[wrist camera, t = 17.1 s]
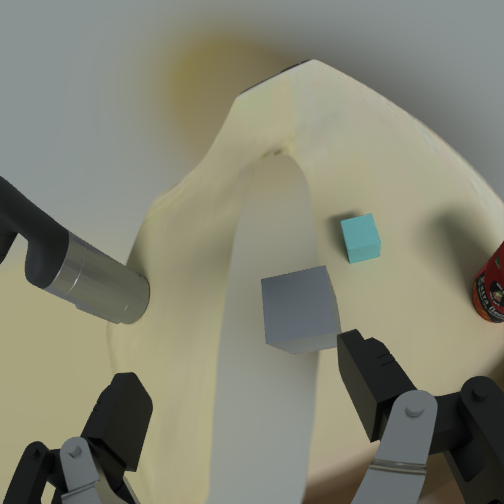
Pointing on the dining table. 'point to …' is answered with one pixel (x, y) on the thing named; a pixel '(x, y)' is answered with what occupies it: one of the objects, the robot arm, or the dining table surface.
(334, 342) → the tall grey pillar block
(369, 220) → the teal block
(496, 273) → the canned food
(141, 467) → the dining table surface
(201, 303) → the dining table surface
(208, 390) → the dining table surface
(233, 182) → the dining table surface
